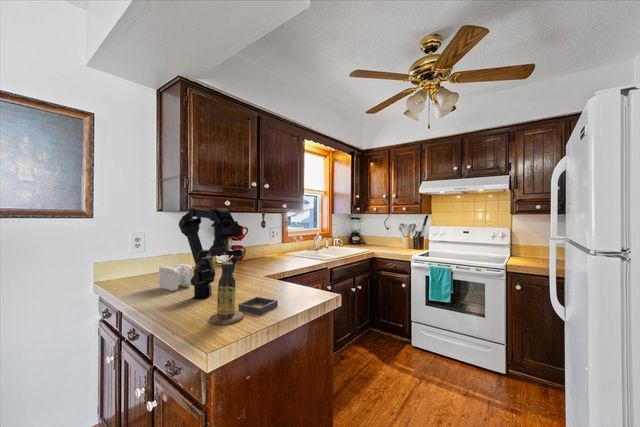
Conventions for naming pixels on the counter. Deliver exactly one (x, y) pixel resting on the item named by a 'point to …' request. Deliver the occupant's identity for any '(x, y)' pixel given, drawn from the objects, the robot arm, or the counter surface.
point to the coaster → (236, 318)
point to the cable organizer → (175, 276)
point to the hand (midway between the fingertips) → (222, 273)
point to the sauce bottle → (226, 292)
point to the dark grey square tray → (249, 308)
